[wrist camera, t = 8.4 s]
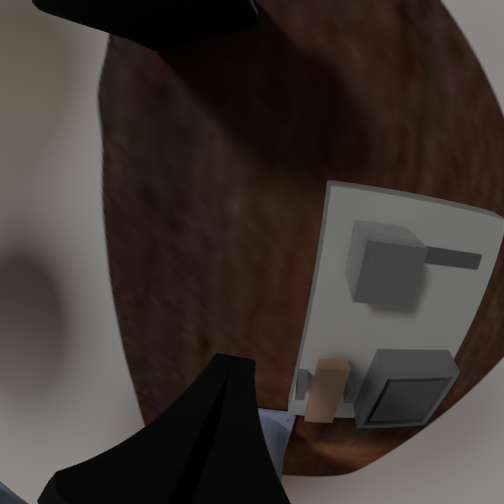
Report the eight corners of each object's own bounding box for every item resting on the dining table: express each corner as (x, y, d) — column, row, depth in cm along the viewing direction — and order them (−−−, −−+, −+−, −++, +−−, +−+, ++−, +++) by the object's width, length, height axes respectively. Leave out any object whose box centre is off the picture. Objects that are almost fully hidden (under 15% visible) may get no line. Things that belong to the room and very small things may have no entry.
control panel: (413, 399, 22) (423, 436, 18) (289, 396, 23) (285, 438, 19) (491, 211, 15) (529, 234, 11) (327, 179, 16) (337, 196, 12)
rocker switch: (331, 413, 19) (332, 422, 18) (304, 411, 19) (304, 421, 18) (348, 361, 18) (350, 370, 17) (318, 358, 18) (319, 368, 17)
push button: (415, 400, 19) (420, 418, 17) (366, 401, 19) (369, 421, 18) (437, 361, 17) (445, 380, 15) (385, 361, 18) (390, 382, 16)
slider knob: (394, 277, 15) (410, 306, 13) (344, 272, 16) (352, 301, 13) (407, 227, 14) (428, 249, 11) (354, 219, 14) (367, 240, 12)
